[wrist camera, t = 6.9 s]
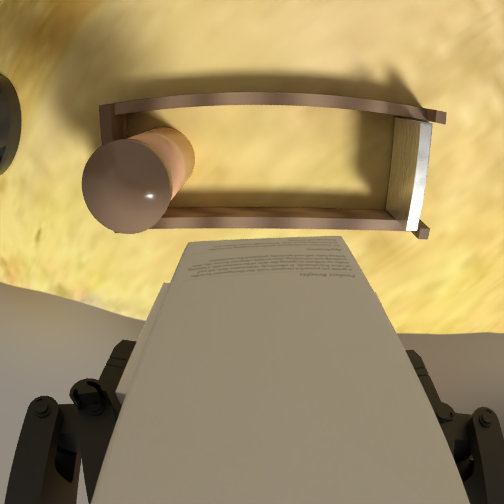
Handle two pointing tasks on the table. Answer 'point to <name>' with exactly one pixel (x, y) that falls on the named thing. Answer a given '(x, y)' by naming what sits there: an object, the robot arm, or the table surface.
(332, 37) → the table surface
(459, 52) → the table surface
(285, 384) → the skincare box
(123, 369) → the robot arm
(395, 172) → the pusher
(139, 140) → the jar
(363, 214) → the frame
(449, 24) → the table surface
